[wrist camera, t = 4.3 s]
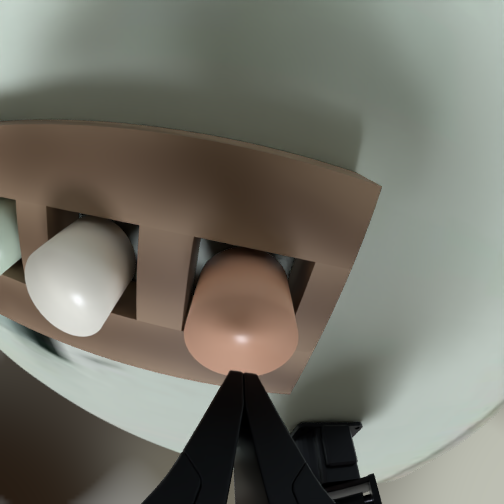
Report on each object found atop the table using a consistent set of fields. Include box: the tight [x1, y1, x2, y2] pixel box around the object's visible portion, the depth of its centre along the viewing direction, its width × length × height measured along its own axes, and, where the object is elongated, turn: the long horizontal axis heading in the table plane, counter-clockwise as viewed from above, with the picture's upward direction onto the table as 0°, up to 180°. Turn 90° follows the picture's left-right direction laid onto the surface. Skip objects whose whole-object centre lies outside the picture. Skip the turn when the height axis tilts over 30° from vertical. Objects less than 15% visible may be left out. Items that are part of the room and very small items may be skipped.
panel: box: [0, 120, 382, 394], centre depth 13 cm, size 12×22×3 cm, turn 77°
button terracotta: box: [184, 247, 298, 376], centre depth 11 cm, size 4×4×4 cm
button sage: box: [0, 197, 22, 275], centre depth 11 cm, size 4×4×4 cm
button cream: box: [25, 215, 136, 337], centre depth 10 cm, size 4×4×4 cm
